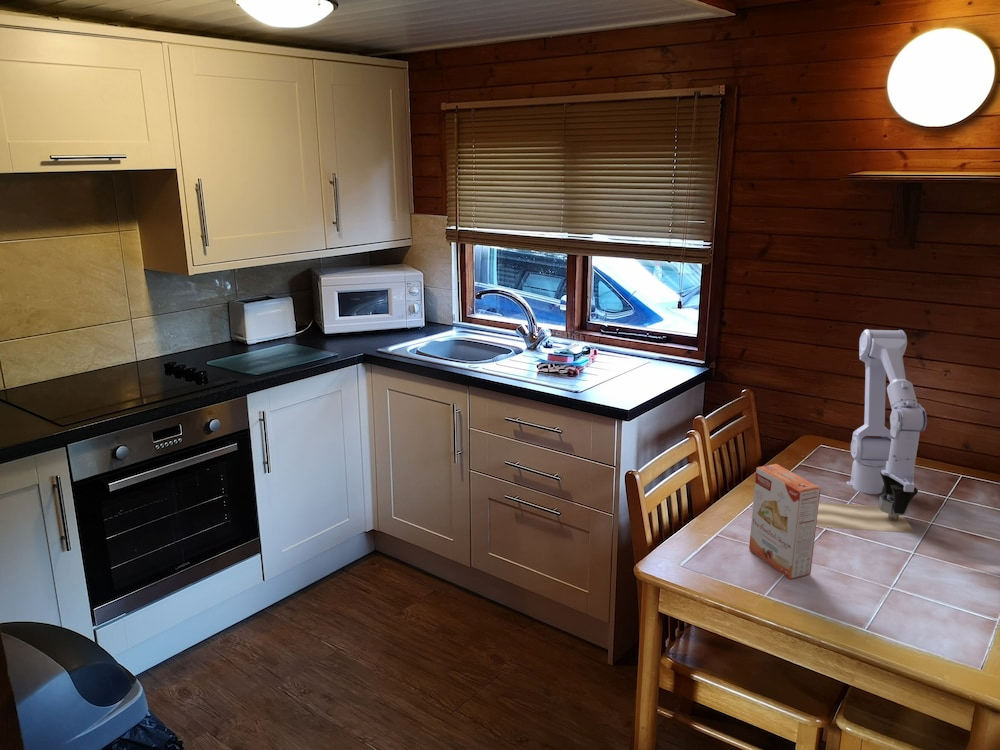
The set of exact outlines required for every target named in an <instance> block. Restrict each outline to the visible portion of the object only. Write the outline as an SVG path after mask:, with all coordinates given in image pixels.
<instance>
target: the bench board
mask: <svg viewBox="0 0 1000 750" xmlns="http://www.w3.org/2000/svg"><path fill="white" fill-rule="evenodd" d="M816 526H817V528H819V527H820V528H833V529H844V530H845V529H847V530H863V531H874V532H877V531H878V532H891V533H902V534H903V533H905V534H916V531H915V530H914V529H913V527H912V526H911V525H910V524H909V522H908V520H907V519H906V518H905V516H904V515H902V516H901V515H899V519H898V521H891V520H889V519H888V513H885V512H882V511H881V510H880V508H879V505H866V504H853V503H852V504H850V503H849V504H848V503H833V502H820V501H819V507H818V515H817V524H816Z"/></svg>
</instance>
